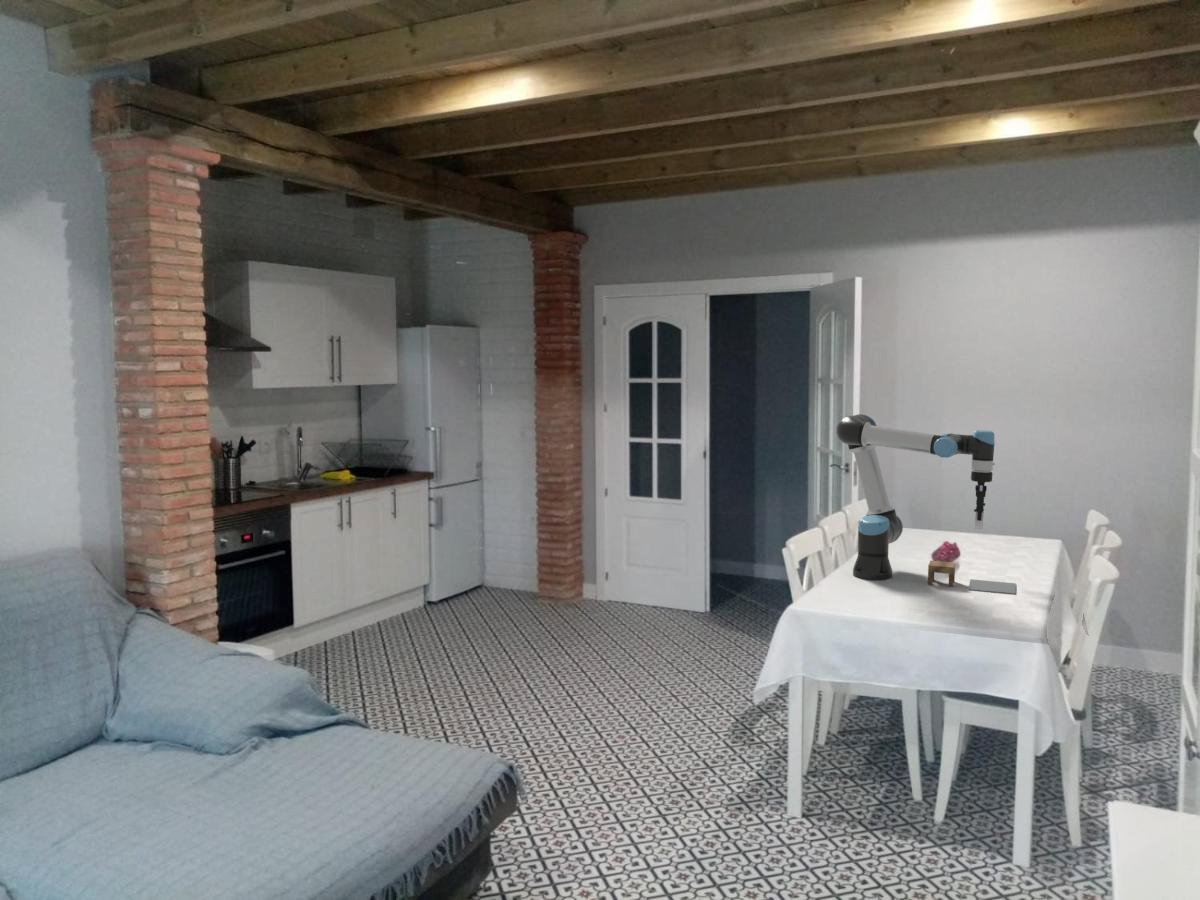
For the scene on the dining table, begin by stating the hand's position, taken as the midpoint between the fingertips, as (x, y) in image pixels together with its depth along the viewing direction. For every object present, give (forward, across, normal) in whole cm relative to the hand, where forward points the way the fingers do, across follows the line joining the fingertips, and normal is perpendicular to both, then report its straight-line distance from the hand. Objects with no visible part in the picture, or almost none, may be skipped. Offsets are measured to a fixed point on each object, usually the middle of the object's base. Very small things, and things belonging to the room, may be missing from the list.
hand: (978, 525), depth 353 cm
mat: (+22, -8, -6) cm, 24 cm away
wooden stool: (+22, -9, +12) cm, 27 cm away
